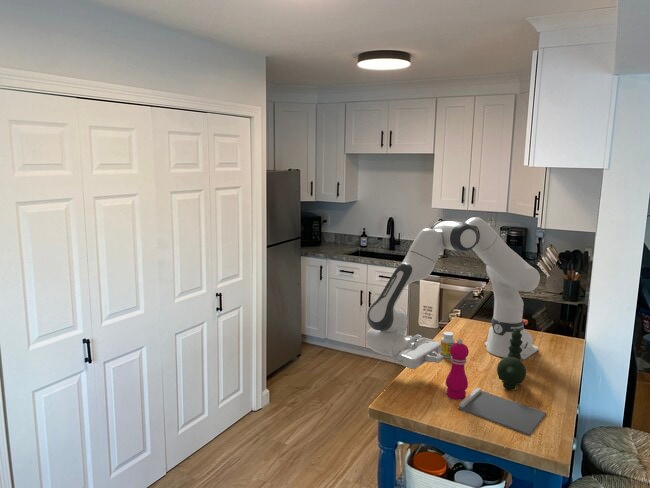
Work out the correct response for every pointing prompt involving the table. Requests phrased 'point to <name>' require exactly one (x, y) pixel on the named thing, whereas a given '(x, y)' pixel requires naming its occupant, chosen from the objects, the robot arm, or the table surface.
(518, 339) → the toy figurine
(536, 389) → the table surface
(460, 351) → the magenta bowling pin
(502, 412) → the grey rectangular board
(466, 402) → the grey stop strip
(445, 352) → the supplement bottle
